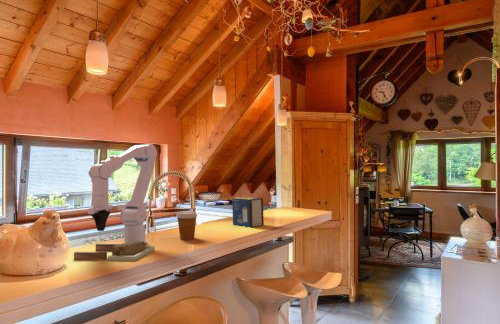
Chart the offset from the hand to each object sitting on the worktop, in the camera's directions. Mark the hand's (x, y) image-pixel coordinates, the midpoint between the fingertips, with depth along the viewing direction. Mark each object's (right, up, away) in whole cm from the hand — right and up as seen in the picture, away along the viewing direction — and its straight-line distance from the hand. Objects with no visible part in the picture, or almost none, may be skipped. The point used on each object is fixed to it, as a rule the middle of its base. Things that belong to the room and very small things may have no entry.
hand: (100, 230), depth 138 cm
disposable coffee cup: (+28, -9, +27) cm, 40 cm away
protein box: (+56, -10, +64) cm, 86 cm away
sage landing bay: (+13, -9, -3) cm, 15 cm away
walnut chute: (+1, -9, -2) cm, 9 cm away
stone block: (+12, -9, -4) cm, 16 cm away
